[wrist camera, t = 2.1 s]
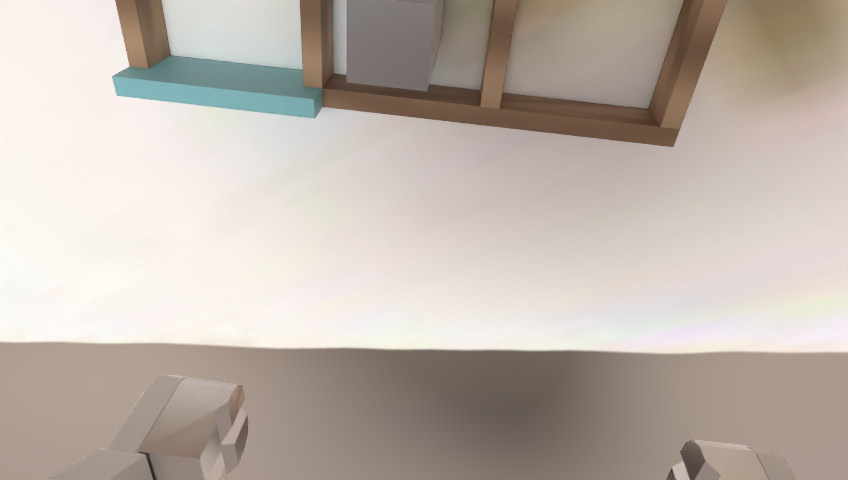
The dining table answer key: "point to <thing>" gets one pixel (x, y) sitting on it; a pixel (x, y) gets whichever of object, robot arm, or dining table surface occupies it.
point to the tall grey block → (393, 42)
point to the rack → (321, 88)
